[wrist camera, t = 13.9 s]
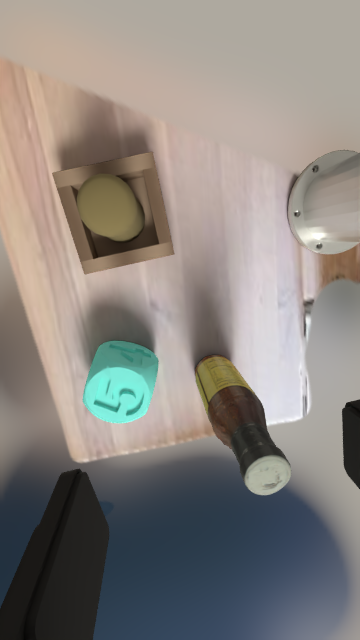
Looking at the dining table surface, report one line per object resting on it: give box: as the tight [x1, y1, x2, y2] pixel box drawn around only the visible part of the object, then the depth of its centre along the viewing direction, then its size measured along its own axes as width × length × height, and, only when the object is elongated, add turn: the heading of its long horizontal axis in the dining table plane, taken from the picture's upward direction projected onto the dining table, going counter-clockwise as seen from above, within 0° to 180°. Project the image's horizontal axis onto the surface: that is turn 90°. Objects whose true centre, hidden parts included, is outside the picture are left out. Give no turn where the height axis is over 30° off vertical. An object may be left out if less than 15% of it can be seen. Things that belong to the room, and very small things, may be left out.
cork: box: [77, 174, 145, 243], centre depth 27 cm, size 6×6×11 cm
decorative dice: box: [83, 341, 158, 423], centre depth 34 cm, size 8×8×8 cm
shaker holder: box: [52, 152, 174, 274], centre depth 31 cm, size 11×11×4 cm
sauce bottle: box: [195, 355, 291, 495], centre depth 30 cm, size 7×6×20 cm
